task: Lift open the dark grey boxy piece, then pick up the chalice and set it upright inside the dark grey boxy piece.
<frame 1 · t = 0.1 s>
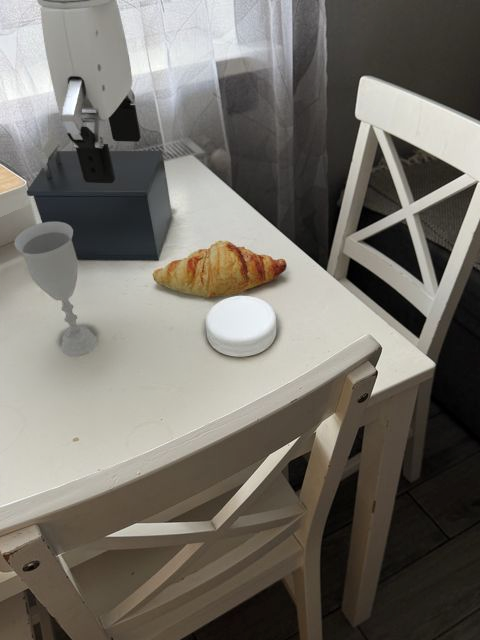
hand: (114, 159, 65), 28 cm above the table, tool pointing down, fingers open, 9 cm apart
croissant: (220, 282, 96), on the table
chalice: (79, 344, 86), on the table
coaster: (241, 335, 86), on the table
dark grey boxy piece: (115, 237, 106), on the table
washer lid: (95, 159, 96), point 15 cm above the table, hinge at 0.0°
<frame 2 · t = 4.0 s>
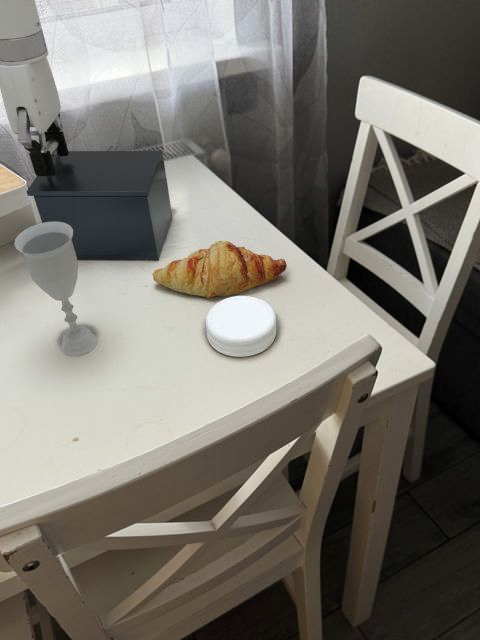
hand: (52, 164, 96), 14 cm above the table, tool pointing down, fingers closed on washer lid, 6 cm apart
washer lid: (95, 159, 96), point 15 cm above the table, hinge at 0.0°, touching gripper
everything else where it was.
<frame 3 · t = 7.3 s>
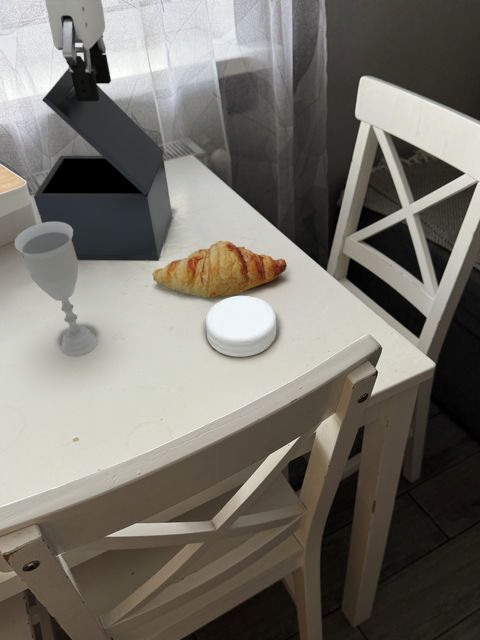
hand: (94, 90, 88), 26 cm above the table, tool pointing down, fingers closed on washer lid, 6 cm apart
washer lid: (118, 119, 91), point 21 cm above the table, hinge at 50.5°, touching gripper
everything else where it was.
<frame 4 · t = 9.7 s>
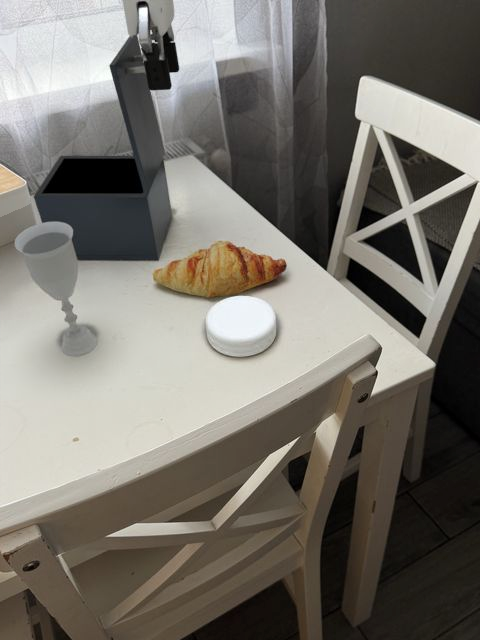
hand: (164, 79, 86), 27 cm above the table, tool pointing down, fingers closed on washer lid, 6 cm apart
washer lid: (154, 113, 90), point 22 cm above the table, hinge at 85.3°, touching gripper
everything else where it was.
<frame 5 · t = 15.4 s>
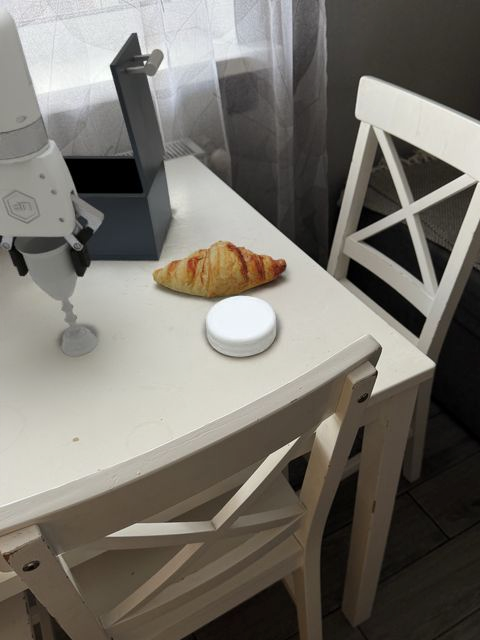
hand: (54, 269, 77), 13 cm above the table, tool pointing down, fingers closed on chalice, 6 cm apart
chalice: (79, 344, 86), on the table, touching gripper
washer lid: (154, 113, 90), point 22 cm above the table, hinge at 85.3°
everything else where it was.
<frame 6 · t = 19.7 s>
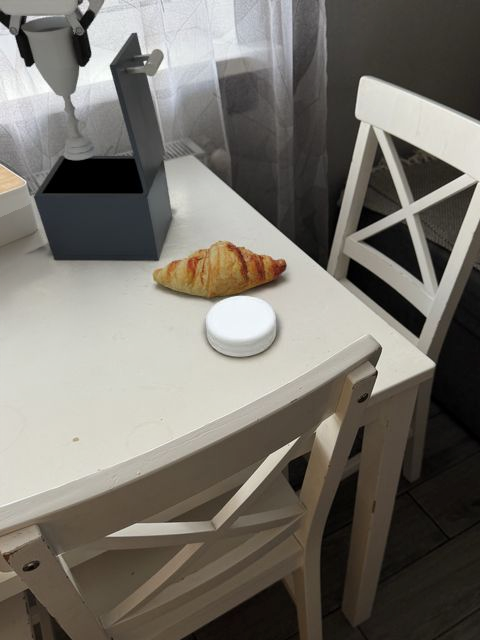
hand: (58, 62, 83), 30 cm above the table, tool pointing down, fingers closed on chalice, 6 cm apart
chalice: (80, 153, 92), point 17 cm above the table, touching gripper
everything else where it was.
when the fingers open (14 cm above the table, at t = 24.1 s): chalice stays where it is, resting on dark grey boxy piece.
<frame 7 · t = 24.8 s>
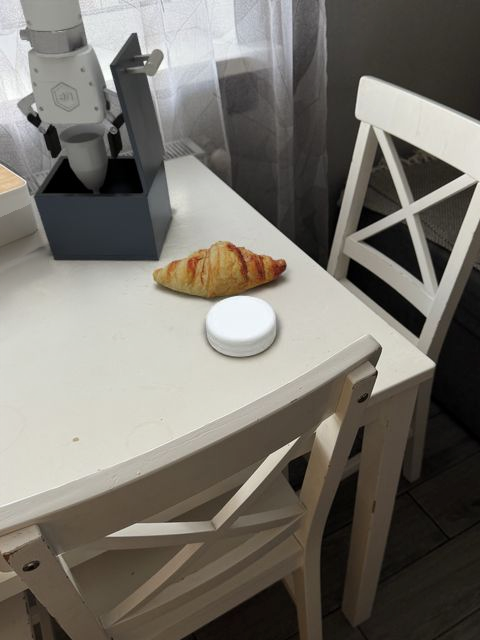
hand: (86, 154, 95), 16 cm above the table, tool pointing down, fingers open, 9 cm apart
chalice: (106, 233, 105), point 1 cm above the table, touching dark grey boxy piece
everything else where it was.
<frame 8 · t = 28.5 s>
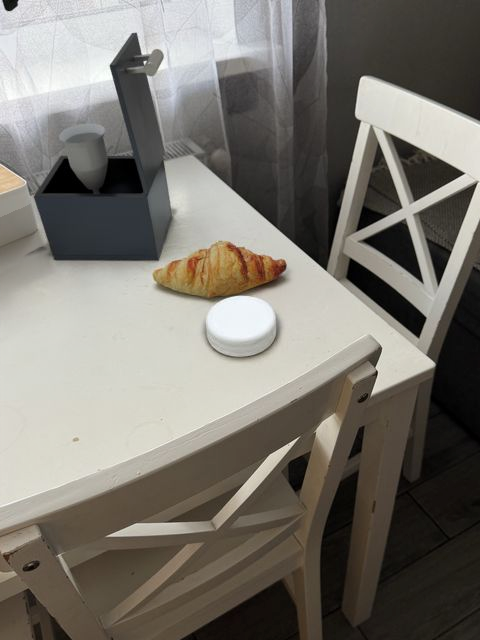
nothing on the table moved.
at the end: washer lid at +85° (first picture: +0°); chalice inside the target area in the dark grey boxy piece (1.5 cm from its centre), point 0.8 cm above the dark grey boxy piece's base; chalice tilted 0° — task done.
